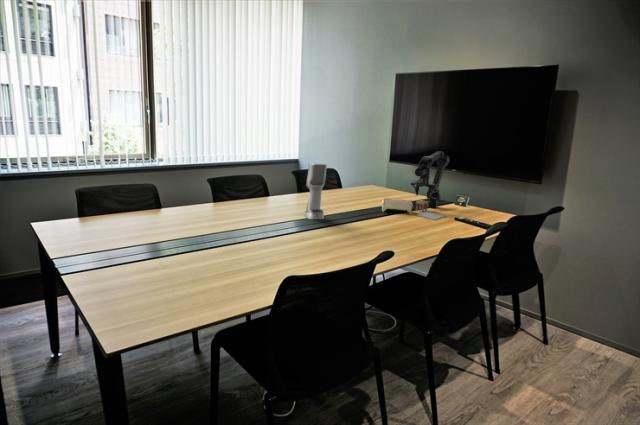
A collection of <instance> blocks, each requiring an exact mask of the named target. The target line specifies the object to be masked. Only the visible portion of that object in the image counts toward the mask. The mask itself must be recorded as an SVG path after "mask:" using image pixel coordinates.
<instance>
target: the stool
mask: <svg viewBox="0 0 640 425" xmlns="http://www.w3.org/2000/svg"><path fill="white" fill-rule="evenodd" d="M415 202H416V203H415V211H416V212H417V211H418V210H419V211H421V213H425V212H428V208H429V207H428V206H429V200H424V199H423V200H422V199H418V200H416V201H415Z"/></svg>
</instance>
